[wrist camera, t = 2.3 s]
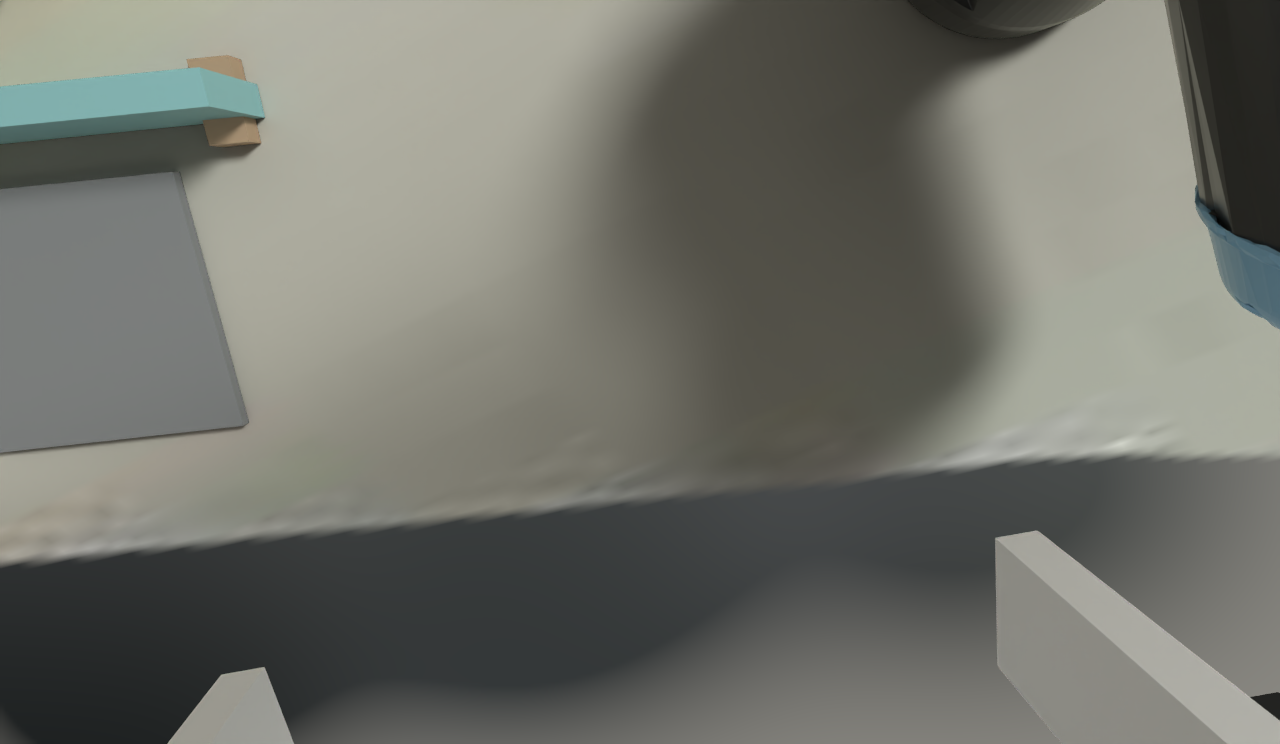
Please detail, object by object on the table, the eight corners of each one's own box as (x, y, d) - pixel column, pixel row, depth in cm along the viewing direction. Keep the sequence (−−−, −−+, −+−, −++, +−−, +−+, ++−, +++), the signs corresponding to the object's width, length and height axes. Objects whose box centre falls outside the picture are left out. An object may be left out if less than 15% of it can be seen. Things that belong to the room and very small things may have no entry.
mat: (-93, 199, 34) (-105, 199, 34) (179, 171, 35) (172, 171, 34) (4, 449, 38) (-5, 453, 38) (249, 422, 38) (243, 425, 38)
